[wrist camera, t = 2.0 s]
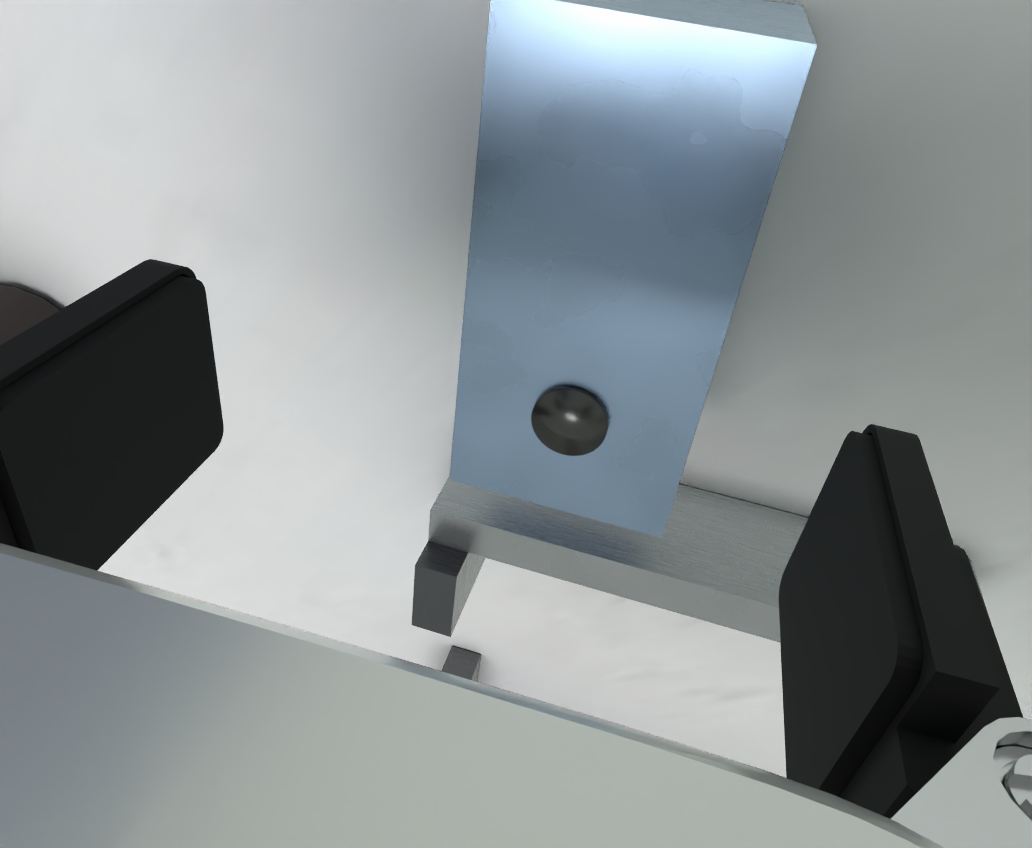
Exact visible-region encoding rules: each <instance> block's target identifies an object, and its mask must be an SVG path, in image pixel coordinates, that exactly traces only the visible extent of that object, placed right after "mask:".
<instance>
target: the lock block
mask: <svg viewBox="0 0 1032 848" xmlns="http://www.w3.org/2000/svg"><path fill="white" fill-rule="evenodd" d="M816 47H817V43H816V40H815V37H814V34H813V32H812V29H811V26H810V24H809V21H808V18H807V15H806V13H805V10H804V7H803V6H801V5H795V4H789V3H782V2H776V1H770V0H490V12H489V24H488V35H487V47H486V59H485V70H484V82H483V94H482V105H481V117H480V129H479V141H478V152H477V164H476V176H475V187H474V199H473V211H472V222H471V234H470V246H469V257H468V269H467V281H466V293H465V304H464V316H463V328H462V339H461V351H460V363H459V374H458V386H457V398H456V410H455V421H454V433H453V445H452V456H451V468H450V480H453V481H456V482H460V483H464V484H467V485H471V486H475V487H478V488H482V489H485V490H489V491H493V492H496V493H500V494H504V495H507V496H511V497H515V498H518V499H522V500H526V501H529V502H533V503H537V504H540V505H544V506H548V507H551V508H555V509H559V510H562V511H566V512H569V513H573V514H577V515H580V516H584V517H588V518H591V519H595V520H599V521H602V522H606V523H610V524H613V525H617V526H621V527H624V528H628V529H632V530H635V531H639V532H643V533H646V534H650V535H653V536H657V537H661V538H662V536H663V533H664V529H665V526H666V523H667V520H668V517H669V514H670V510H671V507H672V504H673V501H674V498H675V494H676V491H677V488H678V485H679V482H680V479H681V475H682V472H683V469H684V466H685V463H686V460H687V456H688V453H689V450H690V447H691V444H692V441H693V437H694V434H695V431H696V428H697V425H698V422H699V418H700V415H701V412H702V409H703V406H704V402H705V399H706V396H707V393H708V390H709V387H710V383H711V380H712V377H713V374H714V371H715V368H716V364H717V361H718V358H719V355H720V352H721V349H722V345H723V342H724V339H725V336H726V333H727V330H728V326H729V323H730V320H731V317H732V314H733V310H734V307H735V304H736V301H737V298H738V295H739V291H740V288H741V285H742V282H743V279H744V276H745V272H746V269H747V266H748V263H749V260H750V257H751V253H752V250H753V247H754V244H755V241H756V237H757V234H758V231H759V228H760V225H761V222H762V218H763V215H764V212H765V209H766V206H767V203H768V199H769V196H770V193H771V190H772V187H773V184H774V180H775V177H776V174H777V171H778V168H779V165H780V161H781V158H782V155H783V152H784V149H785V145H786V142H787V139H788V136H789V133H790V130H791V126H792V123H793V120H794V117H795V114H796V111H797V107H798V104H799V101H800V98H801V95H802V92H803V88H804V85H805V82H806V79H807V76H808V73H809V69H810V66H811V63H812V60H813V57H814V53H815V50H816Z"/></svg>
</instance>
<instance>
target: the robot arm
mask: <svg viewBox="0 0 1032 848" xmlns="http://www.w3.org/2000/svg"><path fill="white" fill-rule="evenodd" d="M222 436H223V419H222V411H221V404H220V396H219V389H218V381H217V374H216V366H215V359H214V351H213V344H212V336H211V329H210V321H209V314H208V306H207V299H206V292H205V288H204V285H203V284H202V282H201V281H199V280H197V279H196V276H195V274H194V273H193V271H192V270H191V269H189V268H188V267H184V266H179V265H175V264H171V263H166V262H162V261H157V260H152V259H149V260H146V261H144V262H142V263H140V264H139V265H137V266H135V267H133V268H132V269H130V270H128V271H127V272H125V273H123V274H121V275H120V276H118V277H116V278H115V279H113V280H111V281H109V282H108V283H106V284H104V285H103V286H101V287H99V288H97V289H96V290H94V291H92V292H91V293H89V294H87V295H86V296H84V297H82V298H80V299H79V300H77V301H75V302H74V303H72V304H70V305H68V306H67V307H65V308H63V309H62V310H60V311H58V312H56V313H55V314H53V315H51V316H50V317H48V318H46V319H44V320H43V321H41V322H39V323H38V324H36V325H34V326H33V327H31V328H29V329H27V330H26V331H24V332H22V333H21V334H19V335H17V336H15V337H14V338H12V339H10V340H9V341H7V342H5V343H3V344H2V345H0V848H1032V720H1031V719H1026V718H1023V715H1022V713H1021V710H1020V707H1019V704H1018V701H1017V698H1016V695H1015V692H1014V689H1013V686H1012V683H1011V680H1010V677H1009V674H1008V672H1007V669H1006V666H1005V663H1004V660H1003V657H1002V654H1001V651H1000V648H999V645H998V642H997V639H996V636H995V633H994V630H993V628H992V625H991V622H990V619H989V616H988V613H987V610H986V607H985V604H984V601H983V598H982V595H981V592H980V589H979V587H978V584H977V581H976V578H975V575H974V572H973V569H972V566H971V563H970V560H969V558H968V556H967V554H966V553H965V551H964V550H963V549H962V548H960V547H959V546H956V545H953V541H952V538H951V535H950V532H949V529H948V526H947V523H946V520H945V517H944V514H943V511H942V508H941V504H940V501H939V498H938V495H937V492H936V489H935V486H934V483H933V480H932V477H931V474H930V471H929V468H928V464H927V461H926V458H925V455H924V452H923V449H922V446H921V443H920V440H919V438H918V436H917V435H915V434H912V433H907V432H903V431H899V430H894V429H890V428H886V427H881V426H877V425H872V424H871V425H869V426H867V428H866V429H865V430H864V431H863V433H859V432H854V431H851V432H850V433H849V434H848V435H847V437H846V438H845V440H844V442H843V444H842V447H841V449H840V451H839V453H838V455H837V457H836V460H835V462H834V464H833V466H832V468H831V470H830V473H829V475H828V477H827V479H826V481H825V483H824V486H823V488H822V490H821V492H820V494H819V496H818V498H817V501H816V503H815V505H814V507H813V509H812V511H811V514H810V516H809V518H808V520H807V522H806V524H805V527H804V529H803V531H802V533H801V535H800V537H799V540H798V542H797V544H796V546H795V548H794V550H793V552H792V555H791V557H790V559H789V561H788V563H787V565H786V568H785V570H784V572H783V575H782V578H781V582H780V587H779V620H780V642H781V664H782V686H783V708H784V729H785V751H786V773H787V778H784V777H782V776H779V775H776V774H773V773H771V772H768V771H765V770H762V769H759V768H756V767H753V766H750V765H746V764H743V763H740V762H737V761H734V760H731V759H727V758H724V757H721V756H718V755H715V754H712V753H708V752H705V751H702V750H699V749H696V748H693V747H689V746H686V745H683V744H680V743H677V742H674V741H670V740H667V739H664V738H661V737H658V736H655V735H651V734H648V733H645V732H642V731H639V730H636V729H632V728H629V727H626V726H623V725H620V724H616V723H613V722H610V721H606V720H603V719H600V718H596V717H593V716H589V715H586V714H583V713H579V712H576V711H573V710H569V709H566V708H563V707H559V706H556V705H553V704H549V703H546V702H543V701H539V700H536V699H533V698H529V697H526V696H523V695H519V694H516V693H513V692H509V691H506V690H503V689H499V688H496V687H492V686H489V685H486V684H482V683H479V682H476V681H472V680H469V679H466V678H462V677H459V676H456V675H452V674H449V673H446V672H442V671H439V670H436V669H432V668H429V667H426V666H422V665H419V664H416V663H412V662H409V661H405V660H402V659H398V658H395V657H392V656H388V655H385V654H381V653H378V652H375V651H371V650H368V649H364V648H361V647H358V646H354V645H351V644H347V643H344V642H341V641H337V640H334V639H330V638H327V637H324V636H320V635H317V634H313V633H310V632H307V631H303V630H300V629H296V628H293V627H290V626H286V625H283V624H279V623H276V622H272V621H269V620H266V619H262V618H259V617H255V616H252V615H248V614H245V613H242V612H238V611H235V610H231V609H228V608H224V607H221V606H218V605H214V604H211V603H207V602H204V601H201V600H197V599H194V598H190V597H187V596H183V595H180V594H176V593H173V592H169V591H166V590H162V589H159V588H155V587H152V586H148V585H145V584H142V583H138V582H135V581H131V580H128V579H124V578H121V577H117V576H114V575H110V574H107V573H103V572H100V571H97V570H98V569H99V568H100V567H101V566H102V565H103V564H104V563H105V562H106V561H107V560H108V559H109V558H110V557H111V556H112V555H113V554H114V553H115V552H116V551H117V550H118V549H119V548H120V547H121V546H122V545H123V544H124V543H125V542H126V541H127V540H128V539H129V538H130V537H131V536H132V535H133V534H134V532H135V531H136V530H137V529H138V528H139V527H140V526H141V525H142V524H143V523H144V522H145V521H146V520H147V519H148V518H149V517H150V516H151V515H152V514H153V513H154V512H155V511H156V510H157V509H158V508H159V507H160V506H161V505H162V504H163V503H164V502H165V501H166V500H167V499H168V498H169V497H170V496H171V495H172V494H173V493H174V492H175V491H176V490H177V489H178V488H179V487H180V486H181V485H182V484H183V483H184V482H185V481H186V480H187V479H188V477H189V476H190V475H191V474H192V473H193V472H194V471H195V470H196V469H197V468H198V467H199V466H200V465H201V464H202V463H203V462H204V461H205V460H206V459H207V458H208V457H209V456H210V455H211V454H212V453H213V452H214V451H215V450H216V449H217V447H218V446H219V444H220V442H221V439H222Z"/></svg>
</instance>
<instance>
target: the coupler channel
mask: <svg viewBox="0 0 1032 848" xmlns="http://www.w3.org/2000/svg"><path fill="white" fill-rule="evenodd" d="M807 520H808V518H807V517H803V516H799V515H796V514H792V513H788V512H784V511H780V510H777V509H773V508H769V507H765V506H761V505H757V504H754V503H750V502H746V501H742V500H738V499H735V498H731V497H727V496H723V495H719V494H716V493H712V492H708V491H704V490H700V489H696V488H693V487H689V486H685V485H681V484H679V485H678V488H677V491H676V494H675V498H674V501H673V504H672V507H671V510H670V514H669V517H668V520H667V523H666V526H665V529H664V533H663V536H662V538H661V537H657V536H653V535H650V534H646V533H643V532H639V531H635V530H632V529H628V528H624V527H621V526H617V525H613V524H610V523H606V522H602V521H599V520H595V519H591V518H588V517H584V516H580V515H577V514H573V513H569V512H566V511H562V510H559V509H555V508H551V507H548V506H544V505H540V504H537V503H533V502H529V501H526V500H522V499H518V498H515V497H511V496H507V495H504V494H500V493H496V492H493V491H489V490H485V489H482V488H478V487H475V486H471V485H467V484H464V483H460V482H456V481H453V480H450V476H449V478H448V480H447V482H446V483H445V485H444V487H443V489H442V490H441V492H440V494H439V496H438V497H437V499H436V501H435V503H434V504H433V506H432V508H431V510H430V525H429V539H428V543H427V544H426V546H425V548H424V550H423V552H422V554H421V556H420V557H419V559H418V561H417V563H416V565H415V579H414V596H413V613H412V625H414V626H417V627H420V628H424V629H427V630H430V631H433V632H437V633H440V634H443V635H446V636H450V637H451V635H452V632H453V630H454V628H455V626H456V623H457V621H458V619H459V616H460V614H461V612H462V610H463V607H464V605H465V603H466V601H467V598H468V596H469V594H470V591H471V589H472V587H473V585H474V582H475V580H476V578H477V576H478V573H479V571H480V569H481V566H482V564H483V562H484V560H485V557H486V558H489V559H493V560H496V561H499V562H503V563H506V564H510V565H513V566H517V567H520V568H524V569H527V570H531V571H534V572H538V573H541V574H545V575H548V576H552V577H555V578H558V579H562V580H565V581H569V582H572V583H576V584H579V585H583V586H586V587H590V588H593V589H597V590H600V591H604V592H607V593H611V594H614V595H618V596H621V597H624V598H628V599H631V600H635V601H638V602H642V603H645V604H649V605H652V606H656V607H659V608H663V609H666V610H670V611H673V612H677V613H680V614H683V615H687V616H690V617H694V618H697V619H701V620H704V621H708V622H711V623H715V624H718V625H722V626H725V627H729V628H732V629H736V630H739V631H742V632H746V633H749V634H753V635H756V636H760V637H763V638H767V639H770V640H774V641H777V642H780V620H779V587H780V582H781V578H782V575H783V572H784V570H785V568H786V565H787V563H788V561H789V559H790V557H791V555H792V552H793V550H794V548H795V546H796V544H797V542H798V540H799V537H800V535H801V533H802V531H803V529H804V527H805V524H806V522H807ZM970 563H971V566H972V569H973V572H974V575H975V578H976V581H977V577H976V574H975V571H974V568H973V565H972V562H971V560H970ZM977 584H978V581H977ZM978 587H979V584H978ZM979 589H980V587H979ZM980 592H981V590H980ZM981 595H982V593H981ZM982 598H983V597H982ZM983 601H984V600H983ZM984 604H985V603H984ZM985 607H986V606H985ZM986 610H987V609H986ZM987 613H988V612H987ZM480 658H481V655H480V654H477V653H474V652H470V651H467V650H464V649H461V648H457V647H454V646H452V648H451V650H450V652H449V655H448V657H447V659H446V662H445V664H444V666H443V669H442V672H446V673H449V674H452V675H456V676H459V677H462V678H466V679H469V680H472V681H476V682H477V679H478V672H479V665H480Z"/></svg>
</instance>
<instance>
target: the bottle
mask: <svg viewBox="0 0 1032 848" xmlns="http://www.w3.org/2000/svg"><path fill="white" fill-rule="evenodd" d="M58 311H60V309H58V308H57V307H55V306H54V305H52V304H51V303H49V302H48V301H46V300H45V299H43V298H41V297H39V296H36V295H34V294H32V293H29V292H27V291H24V290H22V289H19V288H17V287H14V286H4V285H0V345H2V344H3V343H5V342H7V341H9V340H10V339H12V338H14V337H15V336H17V335H19V334H21V333H22V332H24V331H26V330H27V329H29V328H31V327H33V326H34V325H36V324H38V323H39V322H41V321H43V320H44V319H46V318H48V317H50V316H51V315H53V314H55V313H56V312H58Z"/></svg>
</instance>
